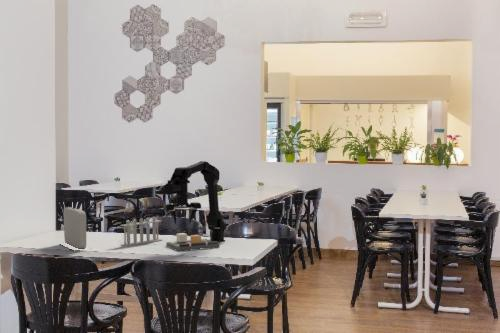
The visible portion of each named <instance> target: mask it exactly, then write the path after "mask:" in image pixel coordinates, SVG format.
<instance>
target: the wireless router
mask: <svg viewBox="0 0 500 333" xmlns="http://www.w3.org/2000/svg"><path fill="white" fill-rule="evenodd" d="M86 214H87V213H86V212H85V210H81V209H78V208H75V207H70V206H68V207H64V208H63V214H62V215H63V231H64V232H63V233H64V242H65V243H67V244H69V245H71V246H73V247H75V248H78V249H85V248H86V246H87V215H86ZM90 248H91V249H92V250H93V248H92V247H90ZM77 251H80V250H75V251H74V252H77Z"/></svg>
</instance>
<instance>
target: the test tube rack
mask: <svg viewBox="0 0 500 333" xmlns="http://www.w3.org/2000/svg"><path fill="white" fill-rule="evenodd" d="M130 222H131V221H130V220H129V219H128V220H126V224H125V223H124V224H120V225H119V226H121V227H123V236H124V238H123V239H124V242H123V243H120V245H122V246H121V247H125V246H127V247H132V246H131V245H133V246H138V244H139V245H144V243H145V244H150V243H157V242H161V241H163V239H162V238H161V239H159V223H160V222H162V220H157V218H156V216H152V220H150V217H146V218H145V221H144V219H143V218H139V222H137V219H133V220H132V223H130ZM151 224H152V239H150V238H151V235H150V234H151V232H150V230H151V229H150V225H151ZM138 225H139V241H138V238H137V237H138V236H137V235H138V233H137V231H138V229H137V227H138ZM144 225H146V228H145V229H146V232H145V233H146V237H145V238H146V239H145V240H144ZM131 226H132V232H133V234H132V235H133V236H132V237H133V238H132V239H133V242H131Z"/></svg>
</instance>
